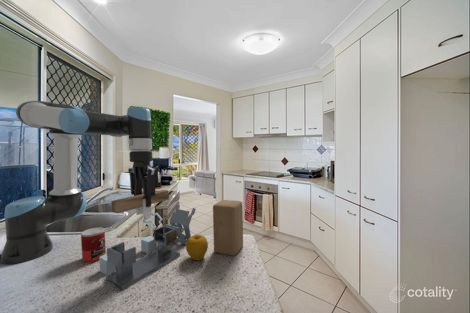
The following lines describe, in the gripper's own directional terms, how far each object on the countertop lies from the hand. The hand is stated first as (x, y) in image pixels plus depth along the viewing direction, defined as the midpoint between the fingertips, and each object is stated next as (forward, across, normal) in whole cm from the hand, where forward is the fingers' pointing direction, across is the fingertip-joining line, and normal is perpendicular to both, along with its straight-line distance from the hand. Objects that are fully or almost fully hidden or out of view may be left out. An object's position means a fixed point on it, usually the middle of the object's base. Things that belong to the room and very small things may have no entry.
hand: (143, 214), depth 73 cm
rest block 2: (+19, -10, +8) cm, 23 cm away
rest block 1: (+19, -10, -8) cm, 23 cm away
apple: (+20, +12, +14) cm, 27 cm away
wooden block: (+20, +19, +26) cm, 38 cm away
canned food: (+19, -24, -7) cm, 31 cm away
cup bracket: (+19, 0, 0) cm, 19 cm away
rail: (-4, 0, 0) cm, 4 cm away
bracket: (+20, -6, +21) cm, 29 cm away
